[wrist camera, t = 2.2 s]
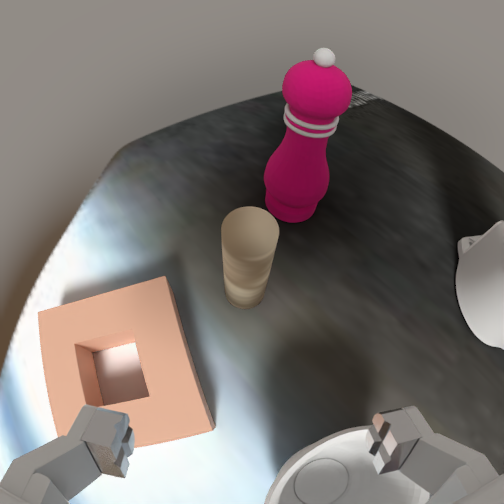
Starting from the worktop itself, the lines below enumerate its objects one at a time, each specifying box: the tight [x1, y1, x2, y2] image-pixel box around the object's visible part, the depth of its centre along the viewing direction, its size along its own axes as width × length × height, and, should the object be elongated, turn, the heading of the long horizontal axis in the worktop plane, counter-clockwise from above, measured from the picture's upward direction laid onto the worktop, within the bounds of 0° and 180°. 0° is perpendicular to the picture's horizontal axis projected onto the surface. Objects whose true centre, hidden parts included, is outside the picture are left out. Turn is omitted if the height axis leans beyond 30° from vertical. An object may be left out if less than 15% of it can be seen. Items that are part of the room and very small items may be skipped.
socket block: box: [38, 276, 215, 448], centre depth 23 cm, size 14×14×4 cm
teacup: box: [264, 426, 430, 504], centre depth 16 cm, size 12×15×10 cm
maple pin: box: [221, 206, 279, 309], centre depth 25 cm, size 4×4×11 cm
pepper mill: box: [264, 48, 352, 223], centre depth 27 cm, size 7×7×20 cm
